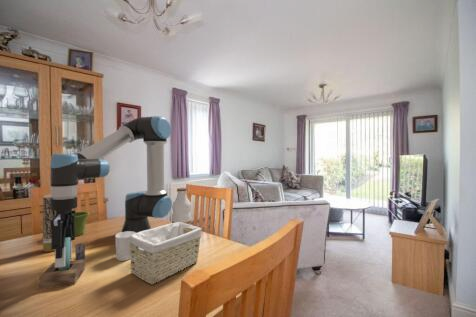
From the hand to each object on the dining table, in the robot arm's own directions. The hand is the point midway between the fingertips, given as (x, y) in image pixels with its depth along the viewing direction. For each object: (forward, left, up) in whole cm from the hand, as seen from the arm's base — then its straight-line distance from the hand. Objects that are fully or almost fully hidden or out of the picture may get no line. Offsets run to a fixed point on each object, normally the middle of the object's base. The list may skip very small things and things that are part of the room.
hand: (63, 262), depth 79 cm
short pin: (-1, -13, -6) cm, 14 cm away
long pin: (0, 0, -6) cm, 6 cm away
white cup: (-18, -12, -6) cm, 22 cm away
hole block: (0, 0, -6) cm, 6 cm away
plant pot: (+12, -49, -6) cm, 51 cm away
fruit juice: (-42, -20, -6) cm, 47 cm away
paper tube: (+15, -30, -6) cm, 34 cm away
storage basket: (-35, +2, -6) cm, 36 cm away
